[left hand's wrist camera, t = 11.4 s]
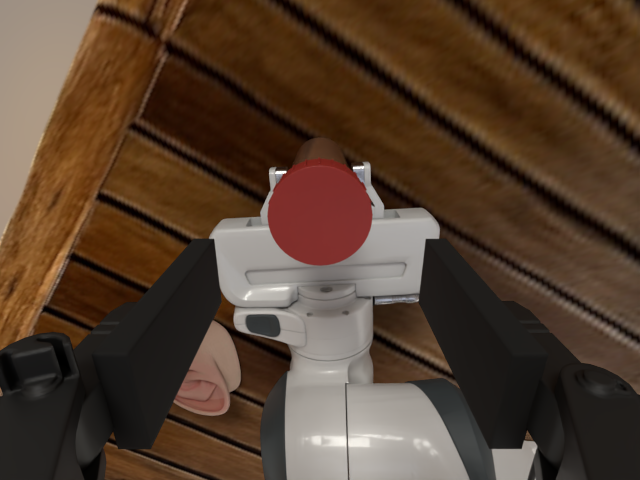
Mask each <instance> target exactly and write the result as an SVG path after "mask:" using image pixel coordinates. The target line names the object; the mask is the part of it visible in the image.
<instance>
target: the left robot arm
mask: <svg viewBox="0 0 640 480" xmlns="http://www.w3.org/2000/svg"><path fill="white" fill-rule="evenodd" d="M221 302H222V301H221V292H220V284H219V275H218V266H217V258H216V249H215V240H214V239H193V241H192V242H191V243H190V244H189V245H188V246H187V247H186V248H185V250H184V251H183V252H182V253H181V254H180V255H179V256H178V257H177V259H176V260H175V261H174V262H173V263H172V264H171V265H170V266H169V268H168V269H167V270H166V271H165V272H164V273H163V274H162V275H161V277H160V278H159V279H158V280H157V281H156V282H155V283H154V284H153V286H152V287H151V288H150V289H149V290H148V291H147V292H146V293H145V294H144V296H143V297H142V298H141V299H140V300H139V301H138V302H126V303H125V304H123V305H121V306H119V307H118V308H116V309H114V310H113V311H111V312H110V313H109V314H108V315H107V316H106V317H105V318H104V319H103V320H102V321H101V322H100V325H97V326H96V327H95V328H94V329H93V330H92V331H91V334H88V335H87V336H86V337H85V339H84V340H83V341H82V342H81V343H80V344H79V345H78V346H77V347H76V348H75V349H74V350H73V347H72V344H71V341H70V338H69V337H68V336H67V335H65V334H64V333H56V332H50V333H41V334H37V335H33V336H30V337H26V338H23V339H21V340H19V341H17V342H14V343H12V344H10V345H8V346H7V347H5V348H4V349H2V350H1V351H0V387H1V390H2V392H3V396H1V397H0V480H104V477H105V469H106V457H105V452H104V449H103V447H104V445H105V444H106V442H107V440H108V439H109V437H110V435H111V434H112V432H114V436H115V439H116V443H117V446H118V449H151V447H152V445H153V443H154V441H155V439H156V437H157V435H158V433H159V431H160V429H161V426H162V424H163V422H164V420H165V418H166V416H167V414H168V412H169V410H170V408H171V406H172V404H173V402H174V399H175V397H176V395H177V393H178V391H179V389H180V387H181V385H182V383H183V381H184V379H185V377H186V375H187V372H188V370H189V368H190V366H191V364H192V362H193V360H194V358H195V356H196V354H197V352H198V350H199V348H200V345H201V343H202V341H203V339H204V337H205V335H206V333H207V331H208V329H209V327H210V325H211V323H212V321H213V318H214V316H215V314H216V312H217V310H218V308H219V306H220V304H221ZM418 302H419V304H420V306H421V308H422V310H423V312H424V314H425V316H426V318H427V321H428V323H429V325H430V327H431V329H432V331H433V333H434V335H435V337H436V339H437V341H438V343H439V345H440V348H441V350H442V352H443V354H444V356H445V358H446V360H447V362H448V364H449V366H450V368H451V370H452V372H453V375H454V377H455V379H456V381H457V383H458V385H459V387H460V389H461V391H462V393H463V395H464V397H465V399H466V402H467V404H468V406H469V408H470V410H471V412H472V414H473V416H474V418H475V420H476V422H477V424H478V426H479V429H480V431H481V433H482V435H483V437H484V439H485V441H486V443H487V445H488V447H489V449H522V446H523V443H524V439H525V436H526V432H527V430H528V432H529V433H530V435H531V437H532V438H533V440H534V442H535V443H536V445H537V449H536V452H535V455H534V459H533V462H532V465H531V468H530V472H529V475H528V479H527V480H535V478H536V480H640V395H638V394H637V393H636V392H635V391H634V389H633V388H632V387H631V386H630V384H628V383H627V382H626V381H624V380H623V379H622V378H620V377H619V376H618V375H616V374H614V373H612V372H610V371H608V370H606V369H604V368H600V367H597V366H594V365H591V364H585V363H581V362H580V361H579V360H578V359H577V358H576V357H575V356H574V355H573V354H572V353H571V352H570V351H569V350H568V349H567V348H566V347H565V346H564V345H563V344H562V343H561V342H560V341H559V340H558V339H557V338H556V337H555V336H554V335H553V334H552V333H550V332H549V330H548V329H547V328H546V327H545V326H544V325H543V324H541V323H540V321H539V319H538V318H537V317H536V316H535V315H534V314H533V313H532V312H531V311H530V310H528V309H526V308H525V307H523V306H521V305H519V304H518V303H516V302H514V301H501V300H500V299H499V298H498V297H497V296H496V294H495V293H494V292H493V291H492V290H491V289H490V288H489V287H488V286H487V284H486V283H485V282H484V281H483V280H482V279H481V278H480V277H479V275H478V274H477V273H476V272H475V271H474V270H473V269H472V268H471V266H470V265H469V264H468V263H467V262H466V261H465V260H464V259H463V257H462V256H461V255H460V254H459V253H458V252H457V251H456V250H455V248H454V247H453V246H452V245H451V244H450V243H449V242H448V241H447V239H426V240H425V249H424V258H423V266H422V275H421V284H420V292H419V301H418Z"/></svg>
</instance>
